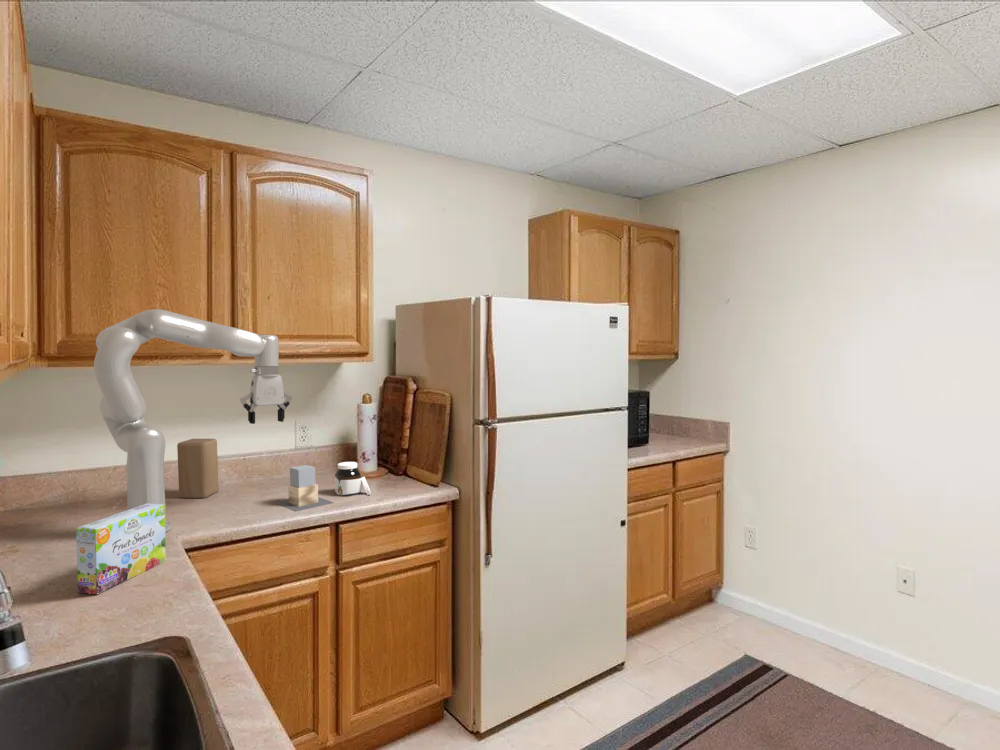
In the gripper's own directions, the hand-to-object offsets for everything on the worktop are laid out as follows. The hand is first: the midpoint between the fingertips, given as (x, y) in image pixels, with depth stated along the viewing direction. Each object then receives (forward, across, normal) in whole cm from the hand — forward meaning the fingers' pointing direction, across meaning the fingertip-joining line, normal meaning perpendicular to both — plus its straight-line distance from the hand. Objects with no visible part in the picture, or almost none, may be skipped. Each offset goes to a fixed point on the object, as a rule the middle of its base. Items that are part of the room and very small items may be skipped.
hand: (266, 422), depth 203 cm
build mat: (+28, +9, -9) cm, 31 cm away
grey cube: (+21, +9, -9) cm, 24 cm away
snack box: (+30, -49, -37) cm, 69 cm away
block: (+29, -11, +32) cm, 44 cm away
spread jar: (+28, +28, -9) cm, 40 cm away
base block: (+27, +9, -9) cm, 30 cm away
